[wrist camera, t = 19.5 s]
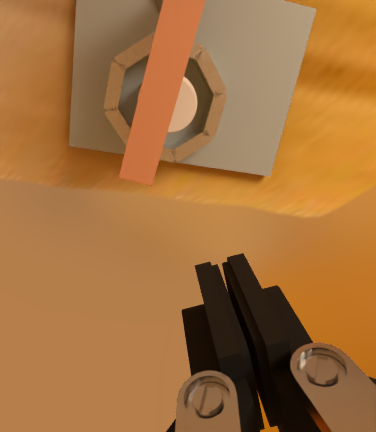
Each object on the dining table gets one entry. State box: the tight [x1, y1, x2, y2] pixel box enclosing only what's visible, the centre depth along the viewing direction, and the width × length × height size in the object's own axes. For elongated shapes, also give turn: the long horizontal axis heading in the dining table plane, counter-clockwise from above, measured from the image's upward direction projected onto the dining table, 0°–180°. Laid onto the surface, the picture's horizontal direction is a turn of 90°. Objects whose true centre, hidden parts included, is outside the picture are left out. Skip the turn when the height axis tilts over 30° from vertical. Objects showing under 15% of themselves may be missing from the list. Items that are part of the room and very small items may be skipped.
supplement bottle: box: [138, 77, 197, 133], centre depth 29 cm, size 5×5×8 cm
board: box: [69, 0, 316, 176], centre depth 28 cm, size 21×17×10 cm
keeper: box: [119, 0, 206, 186], centre depth 22 cm, size 16×4×2 cm, turn 163°
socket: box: [103, 32, 227, 163], centre depth 31 cm, size 10×10×2 cm
